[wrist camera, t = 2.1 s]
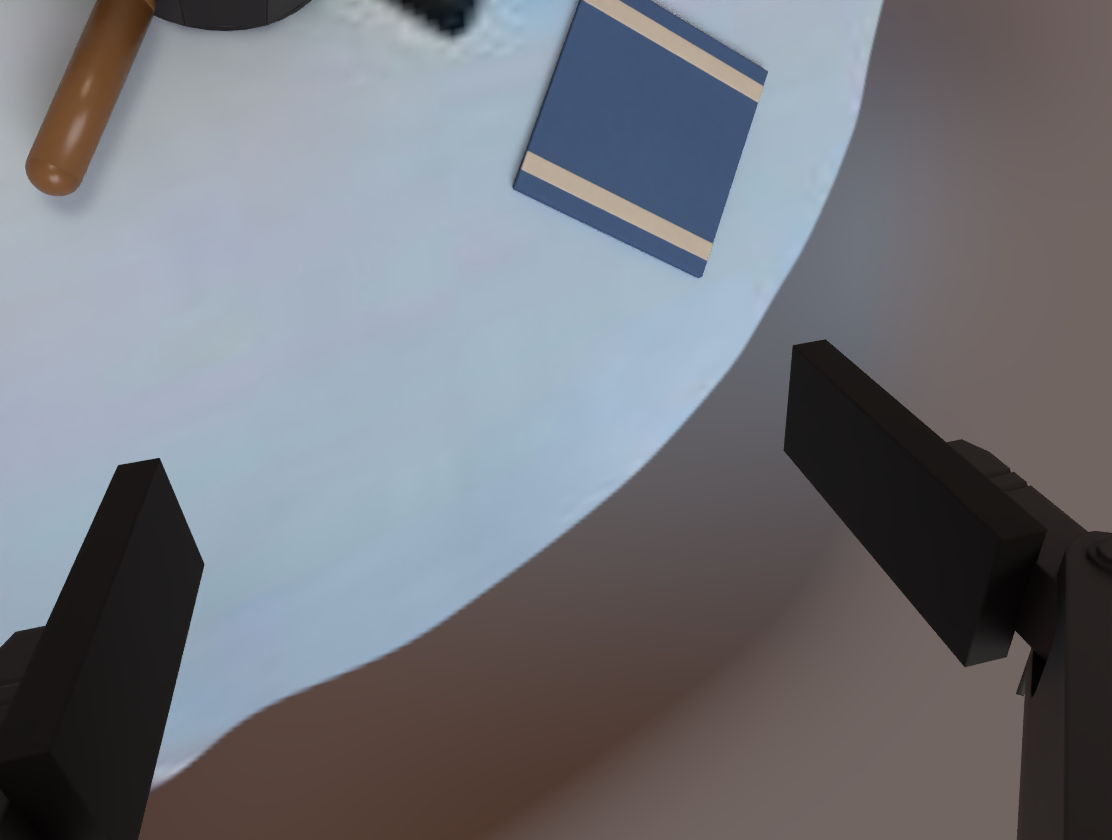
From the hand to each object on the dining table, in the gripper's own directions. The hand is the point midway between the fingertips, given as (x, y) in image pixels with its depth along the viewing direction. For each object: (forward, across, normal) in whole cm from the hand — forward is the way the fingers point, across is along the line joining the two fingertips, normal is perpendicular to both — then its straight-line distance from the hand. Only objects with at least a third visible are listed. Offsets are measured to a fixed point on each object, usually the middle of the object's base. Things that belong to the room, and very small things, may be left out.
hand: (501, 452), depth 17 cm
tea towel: (+27, +12, 0) cm, 29 cm away
